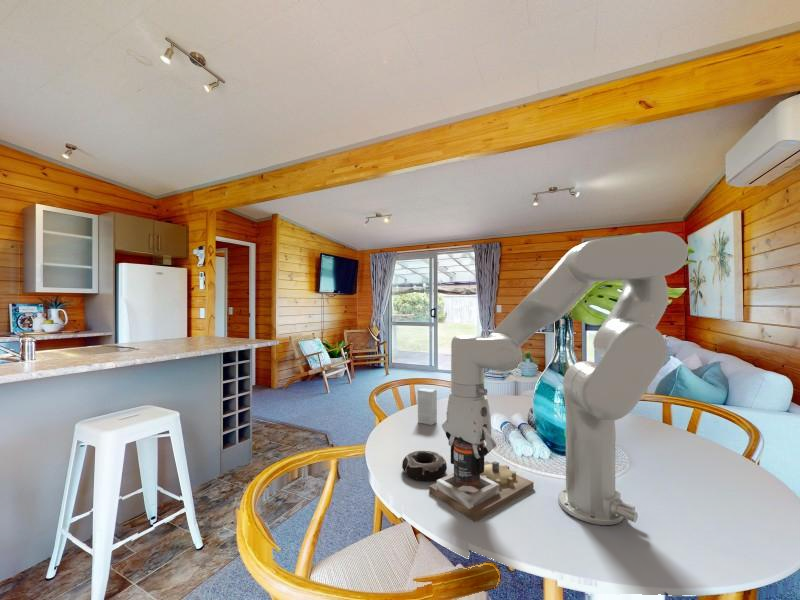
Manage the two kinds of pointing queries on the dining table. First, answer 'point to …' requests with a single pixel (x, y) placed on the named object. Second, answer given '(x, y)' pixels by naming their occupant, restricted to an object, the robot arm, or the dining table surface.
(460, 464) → the supplement bottle
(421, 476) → the donut
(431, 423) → the skincare box
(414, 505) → the dining table surface
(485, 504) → the gear board
